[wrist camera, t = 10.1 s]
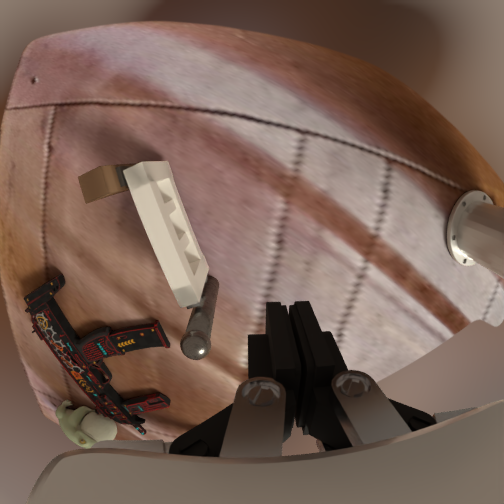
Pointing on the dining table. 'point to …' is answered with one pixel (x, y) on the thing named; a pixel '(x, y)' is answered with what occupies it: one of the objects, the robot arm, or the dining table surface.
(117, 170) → the post
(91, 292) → the dining table surface
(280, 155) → the dining table surface
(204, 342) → the hinge post
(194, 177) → the dining table surface
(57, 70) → the dining table surface
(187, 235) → the gate
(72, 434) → the figurine
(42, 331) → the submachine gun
